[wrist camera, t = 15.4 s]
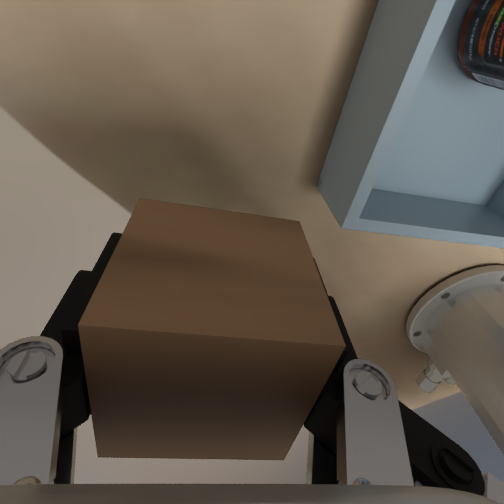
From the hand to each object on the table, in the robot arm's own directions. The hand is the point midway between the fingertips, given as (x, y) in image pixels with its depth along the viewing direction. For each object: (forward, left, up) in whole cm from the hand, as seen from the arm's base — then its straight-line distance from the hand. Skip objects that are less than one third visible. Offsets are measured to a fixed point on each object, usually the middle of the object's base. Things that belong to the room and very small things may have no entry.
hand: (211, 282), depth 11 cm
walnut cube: (0, 0, -1) cm, 1 cm away
